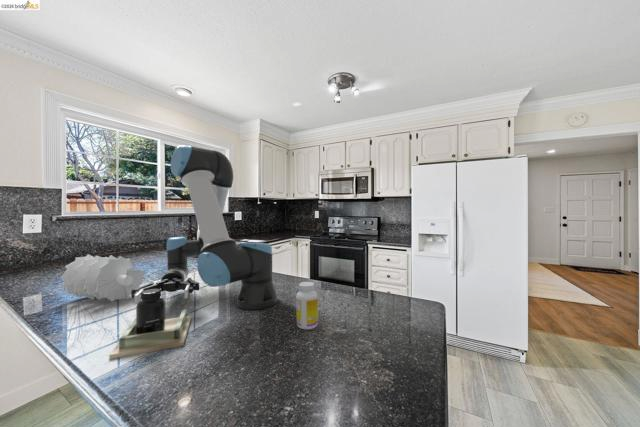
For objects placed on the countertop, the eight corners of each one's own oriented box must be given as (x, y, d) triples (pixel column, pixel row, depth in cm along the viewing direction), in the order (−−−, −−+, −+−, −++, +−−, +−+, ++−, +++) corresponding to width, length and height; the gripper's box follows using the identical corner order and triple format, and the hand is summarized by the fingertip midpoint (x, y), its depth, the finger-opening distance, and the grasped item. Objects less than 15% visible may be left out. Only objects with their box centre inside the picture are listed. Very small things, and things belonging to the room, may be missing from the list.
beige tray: (133, 327, 79) (133, 315, 79) (191, 318, 84) (191, 308, 84) (109, 359, 62) (108, 344, 62) (183, 345, 68) (183, 332, 68)
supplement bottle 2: (321, 322, 81) (320, 281, 80) (313, 331, 74) (313, 288, 74) (301, 319, 83) (301, 280, 83) (292, 328, 77) (292, 286, 76)
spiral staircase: (116, 314, 99) (69, 305, 105) (153, 283, 114) (110, 277, 120) (94, 277, 91) (45, 270, 97) (137, 249, 106) (92, 244, 112)
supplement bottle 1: (150, 340, 69) (149, 295, 69) (130, 337, 70) (129, 293, 70) (170, 328, 75) (170, 288, 75) (152, 326, 77) (151, 286, 77)
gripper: (208, 285, 105) (205, 303, 85) (135, 293, 96) (113, 315, 76) (208, 267, 105) (204, 280, 85) (135, 273, 96) (112, 290, 76)
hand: (161, 297), depth 80 cm, fingers open, 13 cm apart
